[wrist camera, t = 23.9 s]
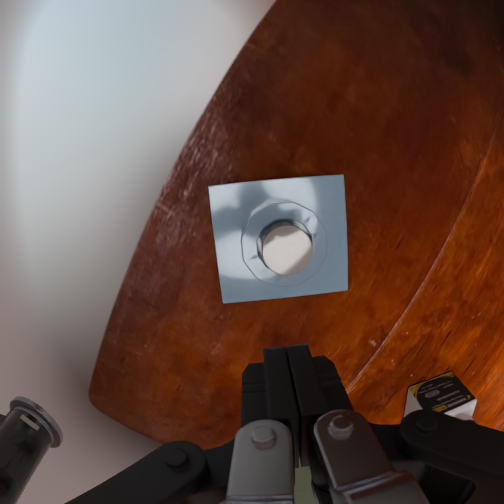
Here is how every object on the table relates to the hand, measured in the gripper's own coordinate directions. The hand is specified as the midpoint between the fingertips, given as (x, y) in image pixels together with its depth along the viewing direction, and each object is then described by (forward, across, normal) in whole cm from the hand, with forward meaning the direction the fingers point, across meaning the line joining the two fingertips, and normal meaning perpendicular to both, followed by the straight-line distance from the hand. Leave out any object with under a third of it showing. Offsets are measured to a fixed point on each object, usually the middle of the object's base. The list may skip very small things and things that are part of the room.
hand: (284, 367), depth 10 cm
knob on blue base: (+19, -2, -1) cm, 19 cm away
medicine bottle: (+19, -21, +23) cm, 36 cm away
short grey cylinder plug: (+14, -2, -1) cm, 14 cm away
